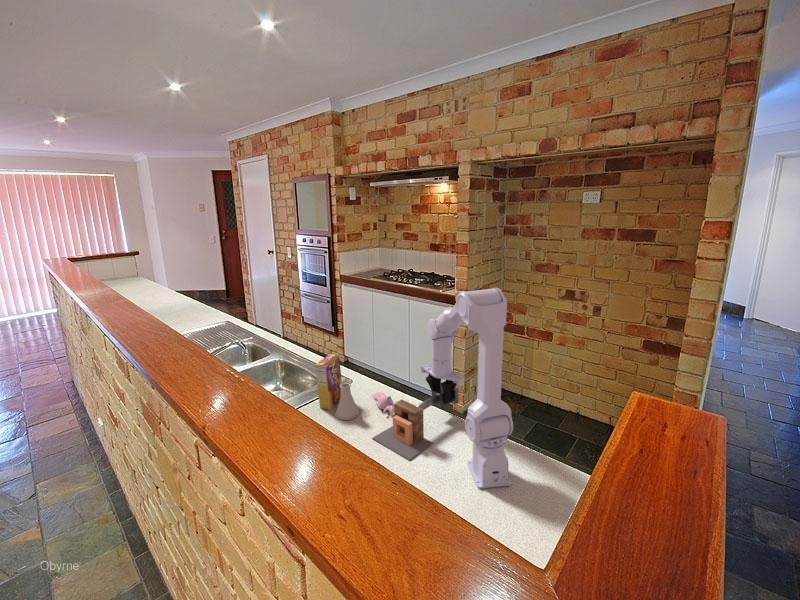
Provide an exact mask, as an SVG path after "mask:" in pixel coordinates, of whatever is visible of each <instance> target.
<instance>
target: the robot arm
mask: <svg viewBox="0 0 800 600" xmlns="http://www.w3.org/2000/svg"><path fill="white" fill-rule="evenodd" d="M507 309H508V300H507V298H506V296H505V295H504V293H503V291H502V289H500V288H499V287H492V288H488V289H487V288H486V289H477V290H469V291H465V290H461V291H460V292H459V293H458V294H457V295H456V297H455V304H454V305H453V307H452V306H446V307H445V308H444V311H443V312H441V313H440V314H439V316H438V317H437V318H430V319H429V320H428V324H427V330H428V334H429V338H430V339H431V365H428V364H423V365H421V366H420V371H421V373H423V374H425V373H426V374H428V375H427V376H426V377H425V381H426V382H427V384H428V386H429V388H430V391H431V392H432V390H434V389H435V388H437V387H439V386H440V384H441V386H442V389H443V394H444V403H445V404H447V403H449V402H450V400H451V396H452V393H453V391H454V389H455V388H457V386H458V387H461V386H463V385H464V384H465V377H463V376H461V375H459V374H457V373H456V372H454V370H453V368H452V367H453V366H452V361H453V360H452V358H453V357H452V356H453V355H452V352H453V351H452V349H453V348H452V343H454V338H455V334H456V330H457V329H458V328H459V327H460V326H462V324H463V323H465V326H467V328H468V329H469V331H472V332H474V333H477V334H478V361H477V366H478V367H477V396H476V400H474V401H473V402H472V404H470V405H469V406H468V408H467V414H466V417H465V420H464V427H465V431H466V435H467V437H468V439H469V440H470V441H471V442H472V459H469V460H467V465H468V468H469V470H470V472H471V475H472V477H473V480H474V482H475V485H476V487H477V489H486V488H488V489H489V488H497V487H499V488H500V487H507V486H512V485H513V483H512V480H511V478H510V476H509V467H510V466H509V460H508V457H507V454H506V452H505V442H506V441H508V436H511V434H512V433H513V430H514V423H513V418H512V409H511V408H510V406H509V405H508V404H507V403H506V402H505V401H503V400H502V398H501V397H502V380H503V379H502V378H503V377H502V376H503V356H504V335H505V334H504V328H505V326H507V316H508V315H507V313H508V311H507ZM442 380H444V381H443V382H442ZM441 382H442V383H441ZM450 403H451V402H450ZM450 403H449V404H450ZM447 405H448V404H447Z"/></svg>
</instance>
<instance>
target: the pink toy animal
mask: <svg viewBox="0 0 800 600" xmlns="http://www.w3.org/2000/svg"><path fill="white" fill-rule="evenodd" d="M371 396H372V398H373V400H374V401H375V402H377V406H378V408H379V409H381V410H383V413H386V411H388V412H389V414H390V417H391V418H393V417H394V416H395V411H394V403H395V402H394V400H393V399H392V397H391V395H389V396H387V395H386V394H385V393H384V392H383V391H376V392H375V393H371Z"/></svg>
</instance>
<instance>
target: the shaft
mask: <svg viewBox="0 0 800 600" xmlns="http://www.w3.org/2000/svg"><path fill="white" fill-rule="evenodd" d="M441 383H443V382H442V381H441ZM450 403H451V404H454V405H457V404H458V403H459V388H457V387H455V389H454V391H453V393H452V396H451V400H450V402H449V403H447V404H445V403H444V394H443V389H442V386H441V384H440V386H439V387H437V388H435V389H434V390H432V391H431V397H429V398H428V399H426V400H424V401H422V402H421V403H419V404H417V405H416V406H417V407H420V408H422V409H423V411H425V410H426V409H428V408H430V407H431V406H435V407H438V408H440V409H443V408H444V407H446V406H447V405H449V404H450ZM406 415H407V417H408V414H407V413H406Z"/></svg>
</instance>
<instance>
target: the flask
mask: <svg viewBox="0 0 800 600" xmlns="http://www.w3.org/2000/svg"><path fill="white" fill-rule="evenodd" d="M351 386H352V384H350V383H349V382H344V383H343V382H342V384H341V385H340V388H341V398H340V401H339V403H338V406H337V409H336V412H335V415H334V417H335V418H337V419H339V420H342V421H351V420H353V419H355V418H357V417H358V416H359V414H360V410H359V408H358V406H357V403H356V402H355V400H354V398H353V395H352V391H351Z"/></svg>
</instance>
